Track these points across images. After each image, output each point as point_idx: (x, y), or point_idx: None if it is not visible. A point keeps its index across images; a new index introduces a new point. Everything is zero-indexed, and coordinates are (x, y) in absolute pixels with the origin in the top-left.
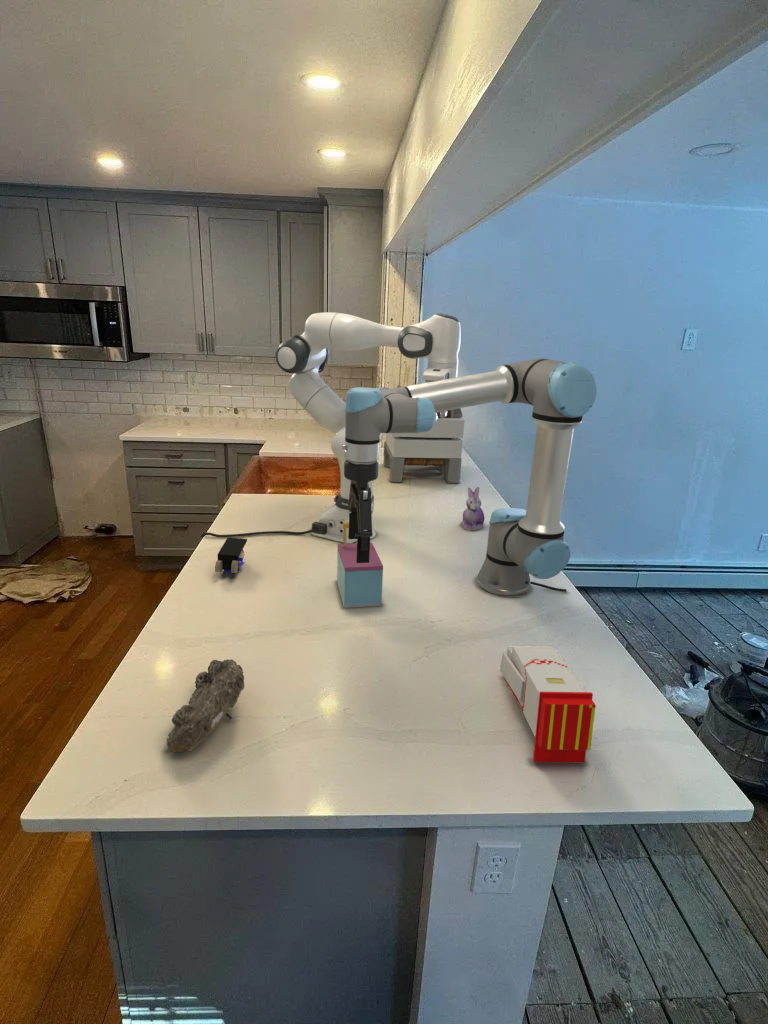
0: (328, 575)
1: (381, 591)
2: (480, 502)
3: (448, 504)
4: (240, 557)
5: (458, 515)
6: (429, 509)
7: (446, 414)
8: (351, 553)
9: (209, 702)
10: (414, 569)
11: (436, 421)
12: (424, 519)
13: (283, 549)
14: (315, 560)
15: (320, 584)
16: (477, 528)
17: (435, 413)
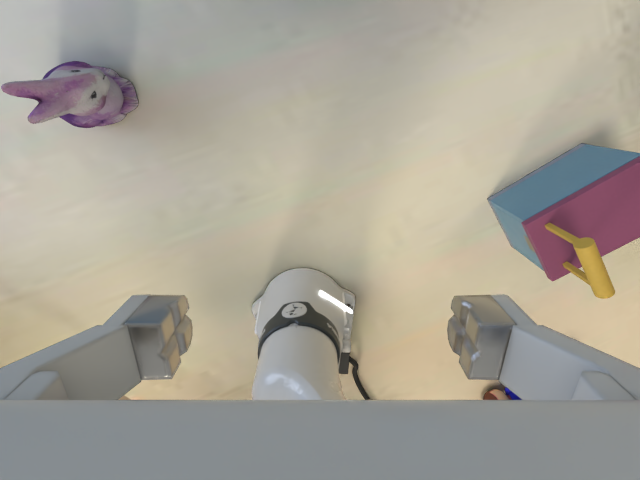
0: (491, 267)
1: (603, 147)
2: (65, 67)
3: (3, 198)
4: (503, 393)
5: (57, 151)
6: (73, 226)
7: (135, 305)
8: (597, 238)
9: None
10: (413, 141)
11: (470, 295)
12: (142, 215)
13: (421, 365)
14: (443, 308)
15: (528, 264)
16: (117, 74)
17: (596, 356)
